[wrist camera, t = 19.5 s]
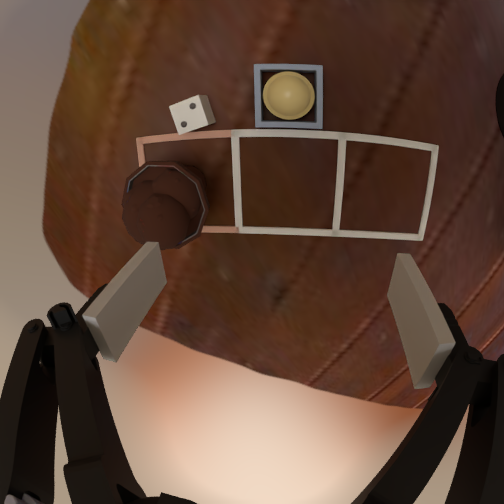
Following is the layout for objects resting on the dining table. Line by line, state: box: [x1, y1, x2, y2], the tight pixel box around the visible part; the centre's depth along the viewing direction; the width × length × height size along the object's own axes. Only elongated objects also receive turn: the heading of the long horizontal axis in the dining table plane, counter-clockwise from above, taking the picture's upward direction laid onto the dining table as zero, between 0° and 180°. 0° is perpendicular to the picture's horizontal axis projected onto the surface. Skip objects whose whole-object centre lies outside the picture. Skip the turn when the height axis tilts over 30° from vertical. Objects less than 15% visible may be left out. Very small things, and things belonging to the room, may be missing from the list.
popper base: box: [254, 64, 323, 129], centre depth 32 cm, size 8×8×3 cm
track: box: [136, 129, 439, 241], centre depth 39 cm, size 15×43×1 cm, turn 91°
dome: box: [263, 71, 315, 120], centre depth 31 cm, size 6×6×5 cm
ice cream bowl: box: [122, 161, 210, 250], centre depth 34 cm, size 11×11×15 cm
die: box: [169, 95, 216, 135], centre depth 34 cm, size 4×4×4 cm
